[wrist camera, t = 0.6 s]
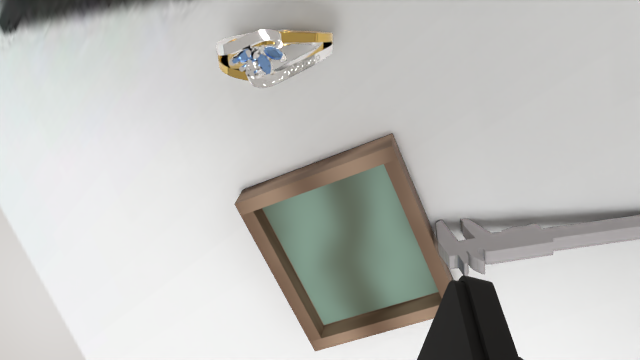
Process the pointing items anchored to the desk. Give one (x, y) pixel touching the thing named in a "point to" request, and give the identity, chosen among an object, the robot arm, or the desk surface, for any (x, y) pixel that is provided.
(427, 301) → the jewellery tray
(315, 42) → the ring
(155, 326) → the desk surface
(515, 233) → the caliper
